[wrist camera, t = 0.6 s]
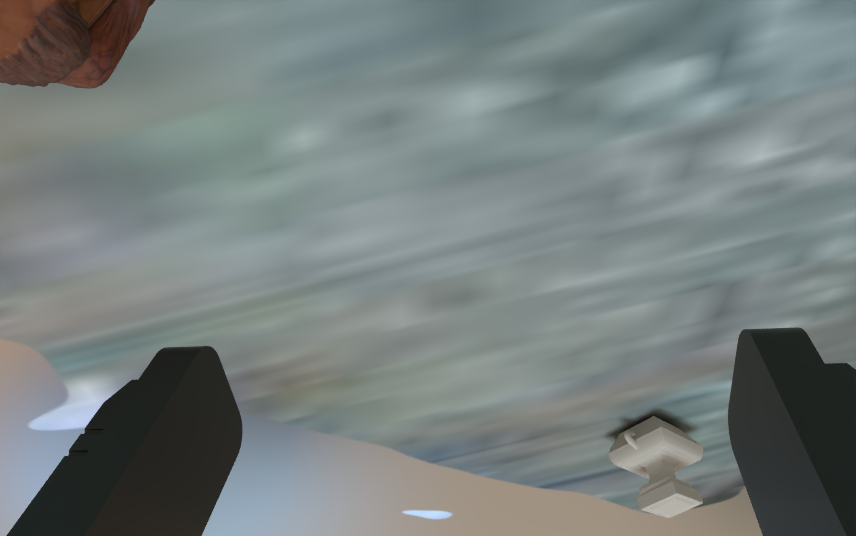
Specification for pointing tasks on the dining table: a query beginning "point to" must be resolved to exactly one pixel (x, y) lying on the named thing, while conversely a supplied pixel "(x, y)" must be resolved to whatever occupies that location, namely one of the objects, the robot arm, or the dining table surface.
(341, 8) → the dining table surface
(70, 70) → the wooden figurine
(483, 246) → the dining table surface
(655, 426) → the stamp
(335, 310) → the dining table surface
